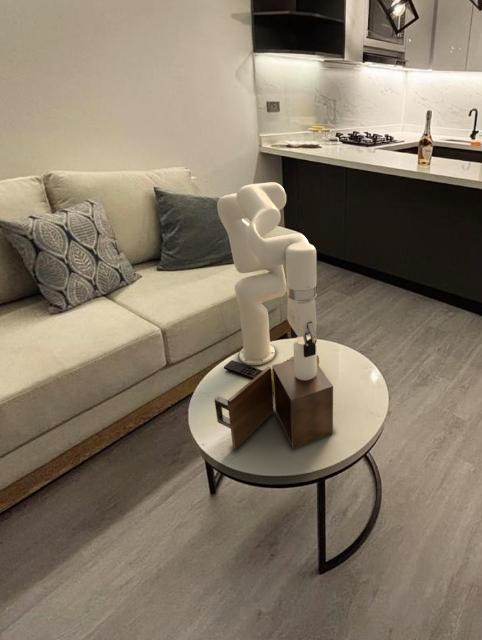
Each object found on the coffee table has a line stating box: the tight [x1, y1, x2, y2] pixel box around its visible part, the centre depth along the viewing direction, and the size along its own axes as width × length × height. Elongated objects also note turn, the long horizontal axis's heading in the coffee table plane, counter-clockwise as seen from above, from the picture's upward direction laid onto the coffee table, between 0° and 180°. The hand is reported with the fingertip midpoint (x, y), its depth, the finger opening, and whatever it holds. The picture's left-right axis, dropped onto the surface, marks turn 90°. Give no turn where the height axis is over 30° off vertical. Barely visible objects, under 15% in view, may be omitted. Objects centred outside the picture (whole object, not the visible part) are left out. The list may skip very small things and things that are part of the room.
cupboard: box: [271, 359, 334, 450], centre depth 118 cm, size 12×16×17 cm
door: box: [214, 366, 275, 450], centre depth 116 cm, size 8×16×17 cm, turn 153°
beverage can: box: [293, 335, 318, 380], centre depth 112 cm, size 6×6×12 cm
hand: (303, 345), depth 111 cm, fingers open, 9 cm apart
